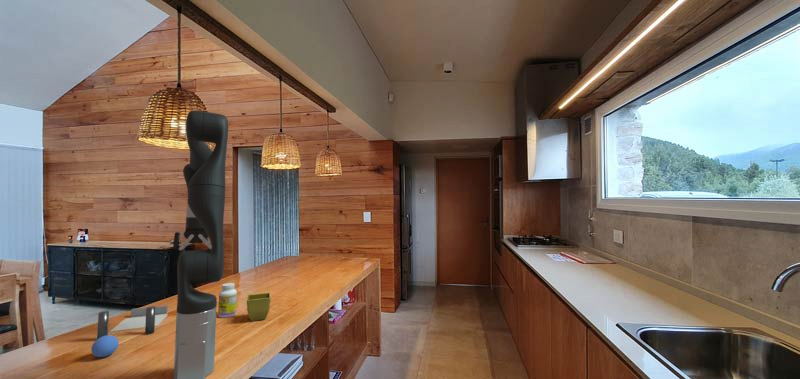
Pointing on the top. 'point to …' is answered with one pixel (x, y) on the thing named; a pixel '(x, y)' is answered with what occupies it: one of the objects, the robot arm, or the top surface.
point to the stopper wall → (142, 311)
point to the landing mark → (137, 322)
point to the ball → (104, 346)
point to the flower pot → (258, 306)
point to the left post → (102, 324)
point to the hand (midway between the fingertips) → (196, 259)
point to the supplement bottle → (227, 301)
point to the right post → (150, 320)
